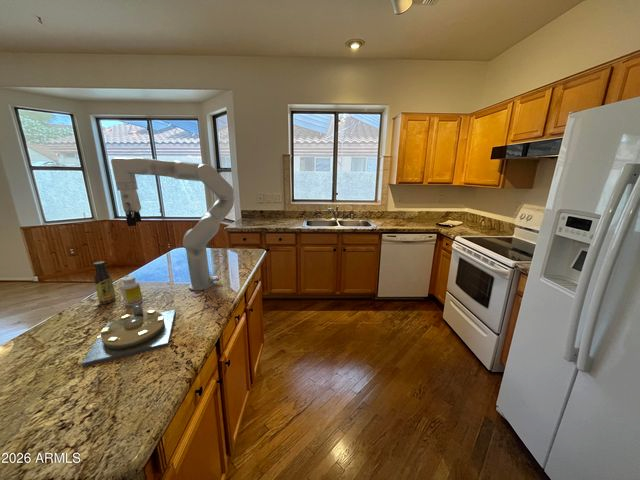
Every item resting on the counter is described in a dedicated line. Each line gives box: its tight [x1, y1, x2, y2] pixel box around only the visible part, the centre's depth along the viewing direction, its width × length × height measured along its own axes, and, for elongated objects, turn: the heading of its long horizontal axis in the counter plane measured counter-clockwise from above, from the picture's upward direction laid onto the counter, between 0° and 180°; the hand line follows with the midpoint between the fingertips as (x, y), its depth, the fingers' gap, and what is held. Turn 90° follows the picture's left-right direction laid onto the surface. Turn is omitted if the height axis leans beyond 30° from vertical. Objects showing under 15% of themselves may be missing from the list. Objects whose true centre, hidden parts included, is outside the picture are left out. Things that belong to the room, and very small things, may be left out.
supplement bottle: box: [121, 275, 143, 307], centre depth 117 cm, size 7×7×13 cm
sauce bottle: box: [93, 260, 116, 305], centre depth 118 cm, size 7×6×20 cm
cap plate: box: [80, 309, 176, 368], centre depth 95 cm, size 24×24×2 cm
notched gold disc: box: [100, 303, 165, 349], centre depth 94 cm, size 19×19×7 cm
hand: (135, 223), depth 117 cm, fingers open, 9 cm apart
